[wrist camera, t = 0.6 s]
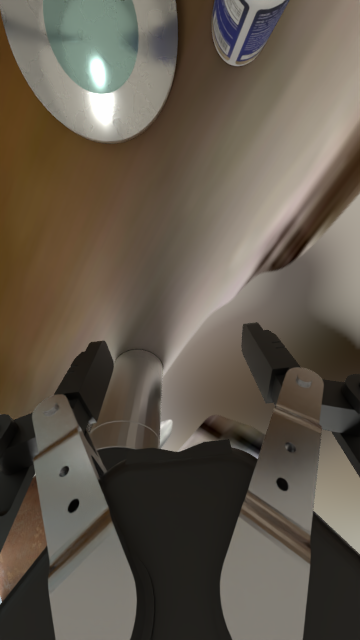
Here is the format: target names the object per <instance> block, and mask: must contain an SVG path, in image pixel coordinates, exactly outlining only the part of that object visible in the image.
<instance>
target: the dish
mask: <svg viewBox="0 0 360 640" xmlns="http://www.w3.org/2000/svg"><path fill="white" fill-rule="evenodd" d="M0 10H1V15H2V20H3V24H4V27H5V31H6V35H7V38H8V41H9V44H10V46H11V49H12V52H13V55H14V57H15V59H16V61H17V63H18V66H19V68H20V70H21V72H22V74H23V75H24V77H25V79H26V81H27V83H28V84H29V86H30V87H31V89H32V90H33V92H34V93H35V95H36V96H37V98H38V99H39V100H40V101H41V102H42V104H43V105H44V106H45V107H46V109H47V110H48V111H49V112H50V113H51V114H52V115H53V116H54V117H55V118H57V119H58V120H59V121H60V122H61V123H63V124H64V125H65V126H66V127H67V128H69V129H70V130H72V131H73V132H75V133H76V134H78V135H80V136H82V137H84V138H86V139H88V140H91V141H94V142H98V143H104V144H117V143H123V142H126V141H129V140H132V139H134V138H135V137H137V136H139V135H141V134H142V133H143V132H144V131H145V130H147V129H148V128H149V127H150V126H151V125H152V123H153V122H154V121H155V120H156V118H157V117H158V115H159V114H160V113H161V111H162V109H163V107H164V105H165V103H166V101H167V98H168V96H169V93H170V90H171V87H172V83H173V79H174V74H175V68H176V61H177V47H178V20H177V10H176V2H175V0H0Z"/></svg>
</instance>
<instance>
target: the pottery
mask: <svg viewBox="0 0 360 640" xmlns="http://www.w3.org/2000/svg"><path fill="white" fill-rule="evenodd" d="M46 546H47V541H46V535H45V529H44V523H43V517H42V511H41V505H40V499H39V493H38V487H37V481H36V476H34V477H33V479H32V481H31V483H30V486H29V488H28V490H27V493H26V495H25V497H24V500H23V502H22V504H21V507H20V509H19V511H18V513H17V516H16V518H15V520H14V523H13V525H12V527H11V530H10V532H9V534H8V536H7V539H6V541H5V543H4V546H3V548H2V550H1V553H0V596H1V599H2V602H3V600H4V599H5V598H6V597H7V595H8V594H9V593H10V591H11V590H12V589H13V588H14V586H15V585H16V584H17V583H18V581H19V580H20V579H21V578H22V576H23V575H24V574H25V573H26V571H27V570H28V569H29V567H30V566H31V565H32V564H33V562H34V561H35V560H36V559H37V557H38V556H39V555H40V554H41V552H42V551H43V550H44V549H45V547H46Z"/></svg>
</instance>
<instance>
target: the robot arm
mask: <svg viewBox="0 0 360 640" xmlns="http://www.w3.org/2000/svg"><path fill="white" fill-rule="evenodd" d="M242 352H243V355H244V358H245V360H246V362H247V364H248V366H249V368H250V371H251V373H252V375H253V377H254V379H255V381H256V383H257V385H258V388H259V390H260V392H261V394H262V396H263V398H264V401H265V403H274V404H275V408H274V410H273V414H272V417H271V420H270V423H269V426H268V429H267V432H266V435H265V438H264V442H263V445H262V448H261V451H260V454H259V457H258V459H257V458H255V457H254V456H252V455H251V454H249V453H247V452H245V451H242V450H239V449H236V448H231V445H230V441H229V439H228V440H219V441H209V442H203V443H201V444H198V445H196V446H193V447H191V448H188V449H186V450H183V451H181V452H173V451H168V450H162V449H159V447H160V420H161V398H162V397H161V396H162V376H163V367H162V363H161V361H160V360H159V358H158V357H156V356H155V355H154V354H152V353H150V352H148V351H144V350H130V351H127V352H124V353H123V354H121V355H120V356H119V357H118V358H117V359H116V361H115V364H114V363H113V359H112V357H111V354H110V351H109V349H108V346H107V344H106V342H105V341H97V342H91V343H89V345H88V347H87V349H86V351H85V352H81V353H80V354H79V355H78V356H77V357H76V358H75V359H74V361H73V363H72V364H71V367H70V368H69V370H68V371H67V374H66V375H65V377H64V378H63V380H62V382H61V383H60V385H59V387H58V389H57V390H56V392H55V394H54V395H53V396H50V397H48V398H47V399H45V400H43V401H42V402H41V403H40V404H39V405H38V406H37V407H36V408H35V410H34V412H33V413H31V414H28V415H26V416H23V417H20V418H18V419H15V420H13V419H12V418H11V417H10V416H9V415H6V414H2V415H0V553H1V550H2V548H3V546H4V543H5V541H6V539H7V536H8V534H9V532H10V530H11V527H12V525H13V523H14V520H15V518H16V516H17V513H18V511H19V509H20V507H21V504H22V502H23V500H24V497H25V495H26V493H27V490H28V488H29V486H30V483H31V481H32V479H33V477H34V474H36V481H37V487H38V493H39V499H40V505H41V511H42V517H43V523H44V529H45V535H46V541H47V546H46V547H45V549H44V550H43V551H42V552H41V554H40V555H39V556H38V557H37V559H36V560H35V561H34V562H33V564H32V565H31V566H30V567H29V569H28V570H27V571H26V573H25V574H24V575H23V576H22V578H21V579H20V580H19V581H18V583H17V584H16V585H15V586H14V588H13V589H12V590H11V591H10V593H9V594H8V595H7V597H6V598H5V599H4V600H3V602H2V603H1V604H0V640H360V554H359V553H358V552H357V551H356V550H355V549H353V548H352V547H351V546H350V545H349V544H348V543H347V542H346V541H345V540H344V539H343V538H342V537H341V536H340V535H339V534H337V533H336V532H335V531H334V530H333V529H332V528H331V527H330V526H329V525H328V524H327V523H326V522H325V521H324V520H323V519H322V518H321V517H320V516H318V515H317V514H316V513H315V512H314V511H313V507H314V498H315V489H316V479H317V470H318V461H319V452H320V443H321V433H322V429H324V430H328V431H331V432H332V434H333V435H334V437H335V438H336V440H337V442H338V443H339V445H340V446H341V448H342V449H343V451H344V453H345V454H346V456H347V458H348V459H349V461H350V462H351V464H352V466H353V467H354V469H355V470H356V472H357V474H358V475H359V477H360V374H353V375H350V376H348V377H347V378H346V380H345V382H336V381H330V380H323V379H321V378H320V376H319V375H317V374H316V373H314V372H313V371H311V370H309V369H305V368H301V367H300V366H299V364H298V363H297V362H296V360H295V359H294V358H293V356H292V355H291V354H290V353H289V351H288V350H287V349H286V348H285V346H284V345H283V344H282V343H281V341H280V340H279V338H278V337H277V336H276V335H275V334H274V333H272V332H271V331H269V330H263V329H262V328H261V326H260V325H259V324H258V323H257V322H256V323H248V324H243V332H242ZM90 423H93V425H92V427H91V430H90V433H89V432H88V430H87V429H86V428H87V425H88V424H90Z"/></svg>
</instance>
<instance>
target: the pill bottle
mask: <svg viewBox="0 0 360 640" xmlns="http://www.w3.org/2000/svg"><path fill="white" fill-rule="evenodd" d="M288 2H289V0H215V1H214V6H213V12H212V36H213V41H214V44H215V47H216V49H217V52H218V53H219V55H220V56H221V58H222V59H223V60H224V61H225V62H227V63H228V64H230V65H233V66H243V65H246V64H248V63H249V62H251V61H252V60H254V59H255V58H256V57H257V55H258V54H259V53H260V52H261V50H262V49H263V47H264V46H265V44H266V42H267V40H268V38H269V36H270V35H271V33H272V31H273V29H274V27H275V26H276V24H277V22H278V20H279V18H280V17H281V15H282V13H283V11H284V9H285V7H286V6H287V4H288Z"/></svg>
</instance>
